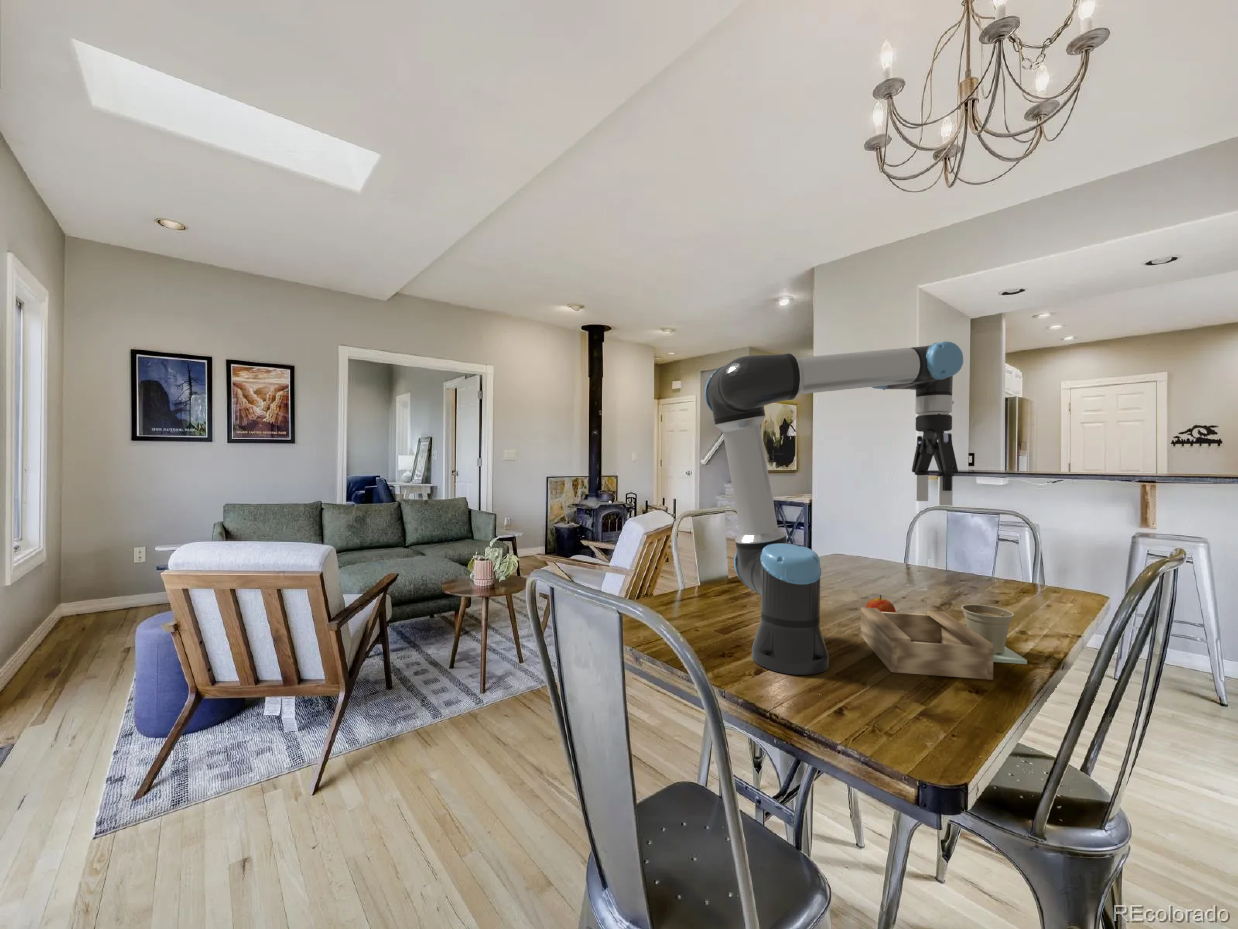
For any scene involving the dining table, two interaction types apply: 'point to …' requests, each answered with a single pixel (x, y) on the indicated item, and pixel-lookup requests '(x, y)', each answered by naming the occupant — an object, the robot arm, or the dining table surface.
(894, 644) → the crate
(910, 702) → the dining table surface
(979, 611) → the flower pot
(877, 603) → the fruit
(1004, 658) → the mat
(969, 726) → the dining table surface
